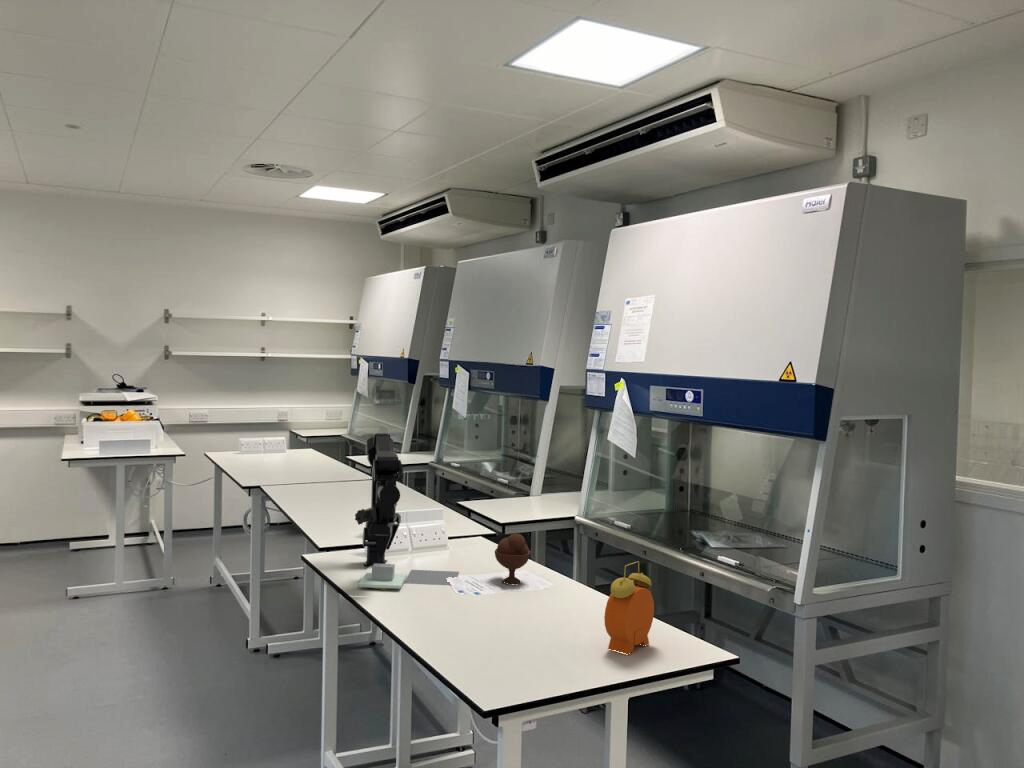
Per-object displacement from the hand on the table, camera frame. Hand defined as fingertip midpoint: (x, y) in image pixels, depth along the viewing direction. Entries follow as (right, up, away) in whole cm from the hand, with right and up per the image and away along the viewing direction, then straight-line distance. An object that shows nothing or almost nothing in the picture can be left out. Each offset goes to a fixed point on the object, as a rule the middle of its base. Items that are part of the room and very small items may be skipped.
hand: (384, 553), depth 228 cm
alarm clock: (+64, -14, -41) cm, 78 cm away
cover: (0, -8, 0) cm, 8 cm away
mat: (+13, -10, +10) cm, 19 cm away
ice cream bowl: (+37, -11, +10) cm, 40 cm away
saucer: (-1, -11, +1) cm, 11 cm away
